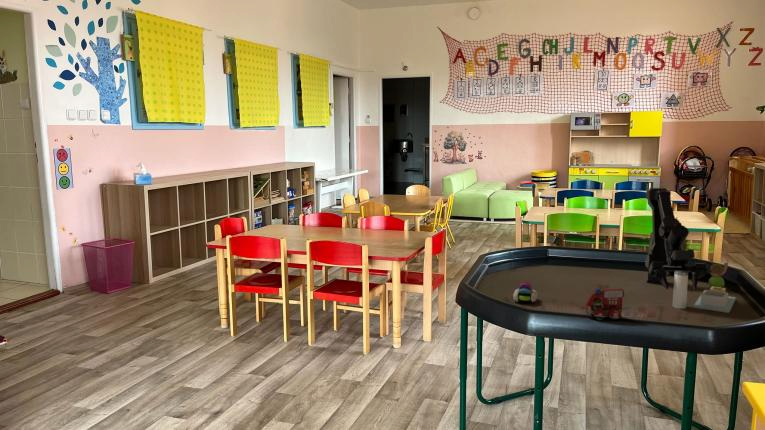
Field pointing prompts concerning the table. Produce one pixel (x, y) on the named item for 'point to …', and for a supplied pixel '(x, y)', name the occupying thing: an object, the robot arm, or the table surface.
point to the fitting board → (715, 300)
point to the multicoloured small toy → (525, 292)
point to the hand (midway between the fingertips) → (681, 289)
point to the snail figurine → (717, 275)
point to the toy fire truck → (605, 302)
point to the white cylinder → (680, 289)
